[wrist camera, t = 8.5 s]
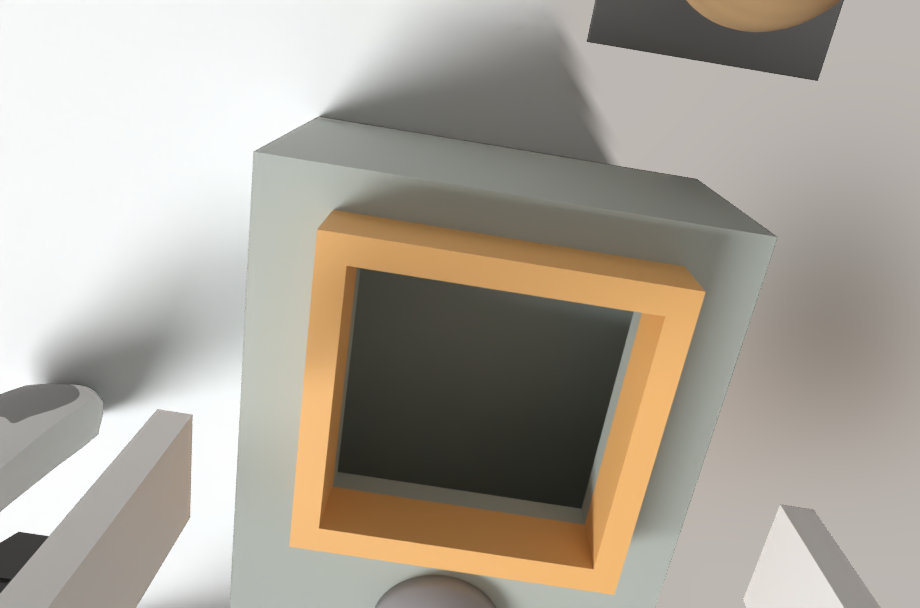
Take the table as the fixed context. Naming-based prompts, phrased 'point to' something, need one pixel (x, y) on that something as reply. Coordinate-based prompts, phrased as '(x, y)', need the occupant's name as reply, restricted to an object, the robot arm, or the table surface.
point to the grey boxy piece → (476, 371)
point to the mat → (712, 37)
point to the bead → (761, 13)
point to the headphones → (42, 432)
